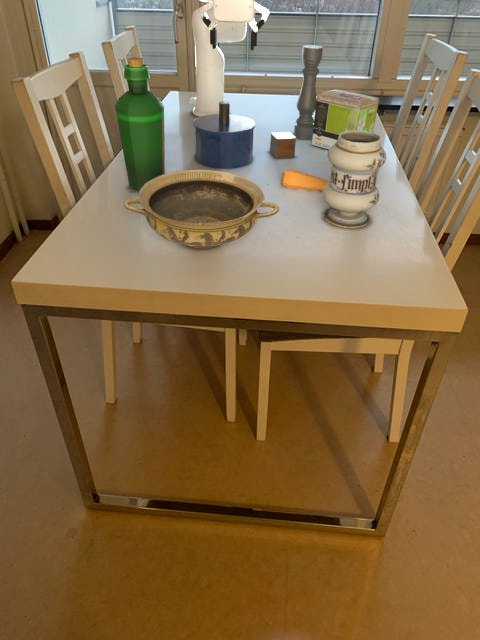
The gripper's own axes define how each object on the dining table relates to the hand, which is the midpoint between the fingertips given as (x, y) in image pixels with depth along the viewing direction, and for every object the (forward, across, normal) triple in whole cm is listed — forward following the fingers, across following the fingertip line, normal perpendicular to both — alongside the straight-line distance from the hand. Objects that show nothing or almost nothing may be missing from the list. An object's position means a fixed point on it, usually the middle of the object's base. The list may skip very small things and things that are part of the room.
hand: (233, 48), depth 122 cm
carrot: (+27, -25, +22) cm, 43 cm away
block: (+26, -14, -1) cm, 30 cm away
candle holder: (+26, -21, -20) cm, 39 cm away
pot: (+26, +2, +4) cm, 27 cm away
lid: (+18, +2, +4) cm, 18 cm away
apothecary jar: (+27, -30, +37) cm, 55 cm away
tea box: (+27, -32, -11) cm, 43 cm away
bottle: (+27, +18, +27) cm, 42 cm away
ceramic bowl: (+27, +1, +51) cm, 58 cm away
